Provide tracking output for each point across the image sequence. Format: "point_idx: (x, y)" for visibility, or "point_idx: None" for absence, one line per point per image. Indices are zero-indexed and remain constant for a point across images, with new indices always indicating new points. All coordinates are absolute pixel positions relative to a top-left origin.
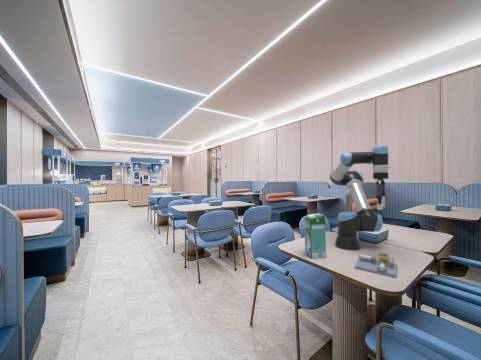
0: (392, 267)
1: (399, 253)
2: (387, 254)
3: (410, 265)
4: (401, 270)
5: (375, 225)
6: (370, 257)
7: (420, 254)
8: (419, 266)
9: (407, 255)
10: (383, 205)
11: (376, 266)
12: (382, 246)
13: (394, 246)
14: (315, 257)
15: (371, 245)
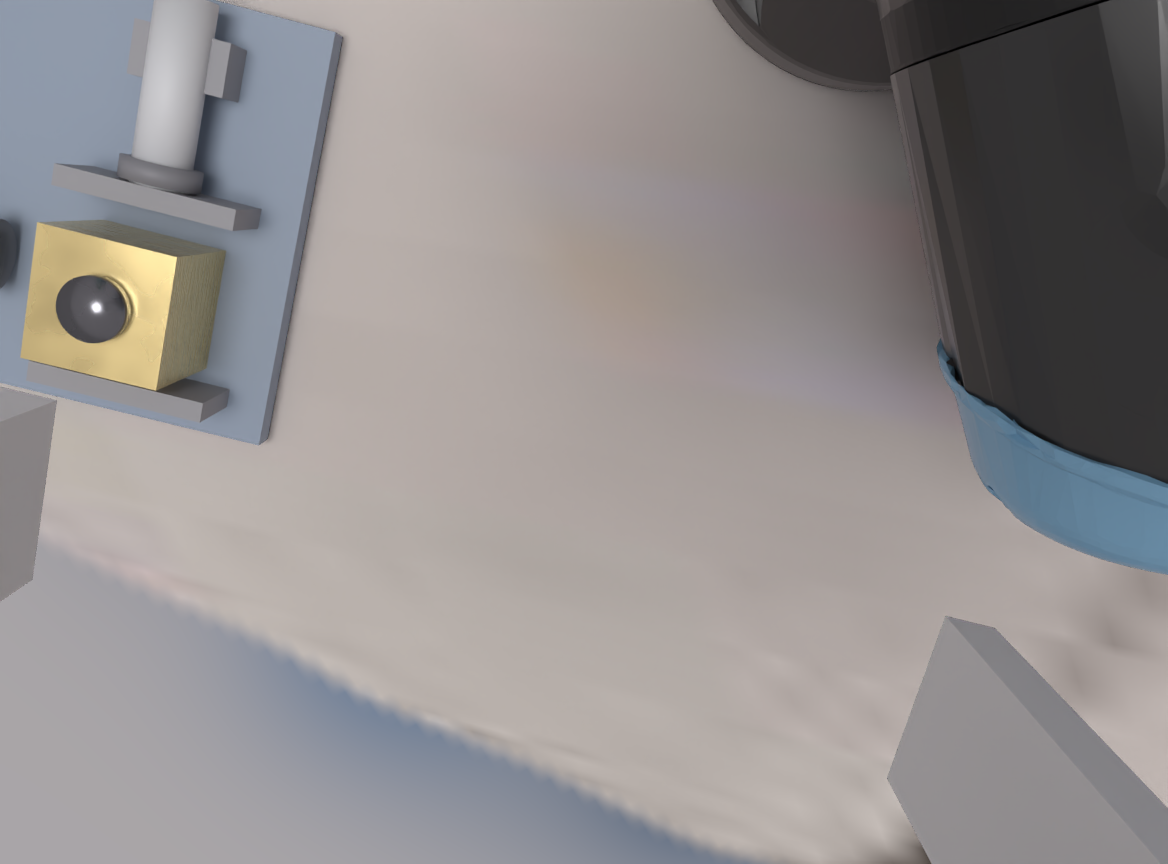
0: None
1: (774, 573)
2: (158, 359)
3: (363, 581)
4: (154, 453)
5: (957, 367)
6: (138, 141)
7: (819, 788)
8: (372, 659)
9: (724, 642)
10: (921, 774)
11: (51, 195)
12: None
13: (1087, 584)
14: None
15: None
